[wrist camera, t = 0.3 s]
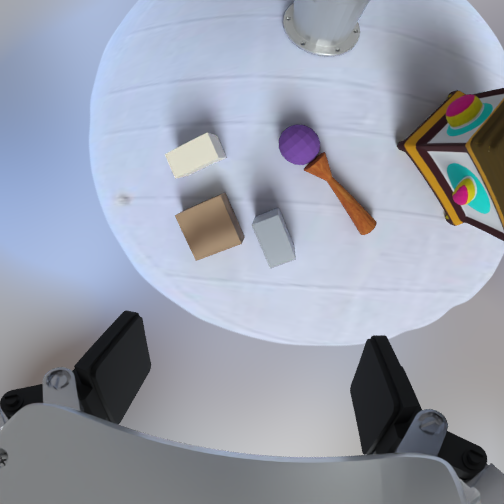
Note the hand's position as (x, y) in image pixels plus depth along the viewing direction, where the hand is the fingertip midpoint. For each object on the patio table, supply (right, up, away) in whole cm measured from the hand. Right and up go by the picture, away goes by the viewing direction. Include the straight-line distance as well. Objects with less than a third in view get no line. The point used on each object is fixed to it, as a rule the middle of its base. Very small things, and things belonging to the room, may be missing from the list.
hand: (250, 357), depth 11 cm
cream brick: (-8, +20, +32) cm, 38 cm away
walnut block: (-6, +9, +36) cm, 37 cm away
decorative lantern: (+35, +21, +27) cm, 49 cm away
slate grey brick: (+4, +7, +35) cm, 36 cm away
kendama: (+12, +16, +31) cm, 37 cm away
